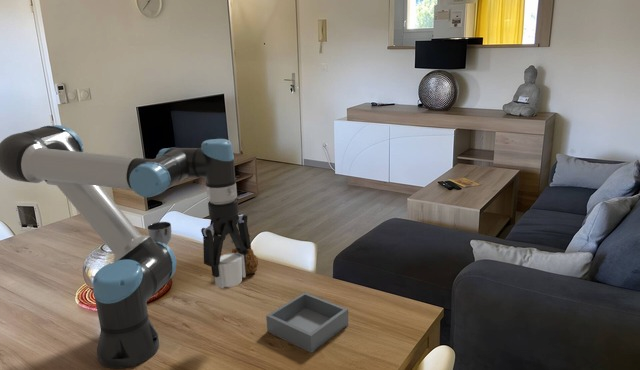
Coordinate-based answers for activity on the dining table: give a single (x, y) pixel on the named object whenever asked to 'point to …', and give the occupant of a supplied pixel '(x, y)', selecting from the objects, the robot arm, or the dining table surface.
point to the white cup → (231, 269)
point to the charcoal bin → (307, 321)
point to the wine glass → (160, 232)
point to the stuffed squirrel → (249, 260)
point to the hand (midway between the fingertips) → (230, 280)
